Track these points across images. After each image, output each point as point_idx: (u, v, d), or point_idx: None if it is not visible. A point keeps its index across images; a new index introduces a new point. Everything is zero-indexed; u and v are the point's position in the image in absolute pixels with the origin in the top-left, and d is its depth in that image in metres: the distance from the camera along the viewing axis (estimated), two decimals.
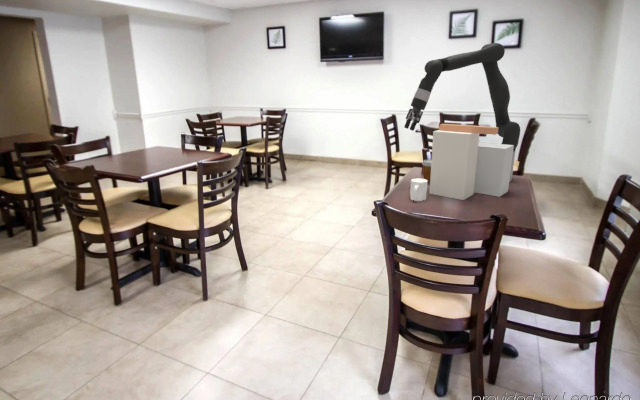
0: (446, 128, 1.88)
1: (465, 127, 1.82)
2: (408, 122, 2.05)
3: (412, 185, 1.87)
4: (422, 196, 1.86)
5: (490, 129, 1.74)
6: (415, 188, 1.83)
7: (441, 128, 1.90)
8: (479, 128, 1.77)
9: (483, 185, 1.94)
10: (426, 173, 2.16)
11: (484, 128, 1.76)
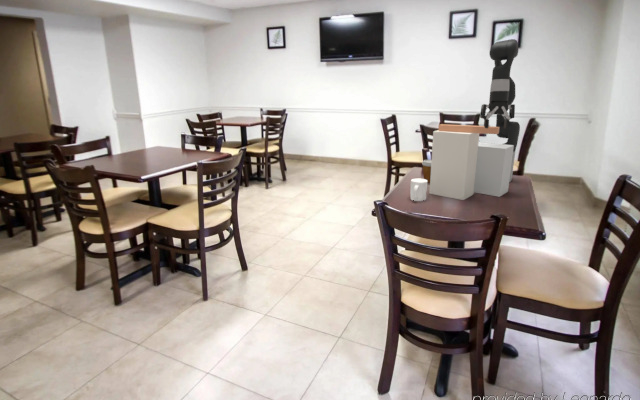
0: (445, 128, 1.87)
1: (466, 127, 1.81)
2: None
3: (412, 185, 1.87)
4: (422, 196, 1.86)
5: (492, 129, 1.75)
6: (415, 188, 1.83)
7: (440, 129, 1.88)
8: (480, 128, 1.77)
9: (483, 185, 1.94)
10: (426, 173, 2.16)
11: (486, 128, 1.76)
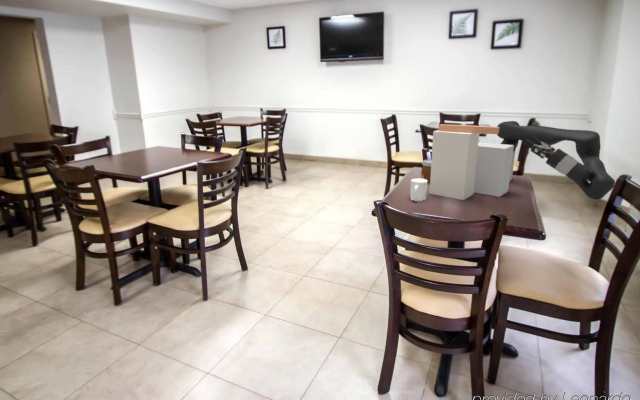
0: (445, 128, 1.87)
1: (466, 127, 1.81)
2: None
3: (412, 185, 1.87)
4: (422, 196, 1.86)
5: (492, 129, 1.75)
6: (415, 188, 1.83)
7: (440, 129, 1.88)
8: (480, 128, 1.77)
9: (483, 185, 1.94)
10: (426, 173, 2.16)
11: (486, 128, 1.76)
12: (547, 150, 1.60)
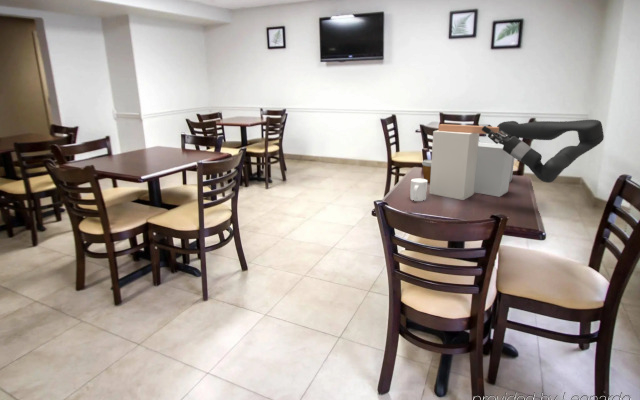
0: (445, 128, 1.87)
1: (465, 127, 1.81)
2: None
3: (412, 185, 1.87)
4: (422, 196, 1.86)
5: (491, 129, 1.74)
6: (415, 188, 1.83)
7: (440, 128, 1.88)
8: (480, 128, 1.77)
9: (483, 185, 1.94)
10: (426, 173, 2.16)
11: None
12: (503, 137, 1.71)
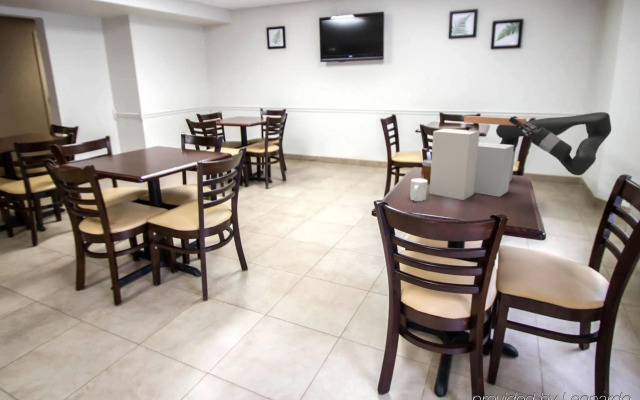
0: (470, 120, 1.84)
1: (491, 119, 1.78)
2: None
3: (412, 185, 1.87)
4: (422, 196, 1.86)
5: (518, 120, 1.70)
6: (415, 188, 1.83)
7: (465, 120, 1.86)
8: (506, 119, 1.73)
9: (483, 185, 1.94)
10: (426, 173, 2.16)
11: None
12: (531, 128, 1.67)
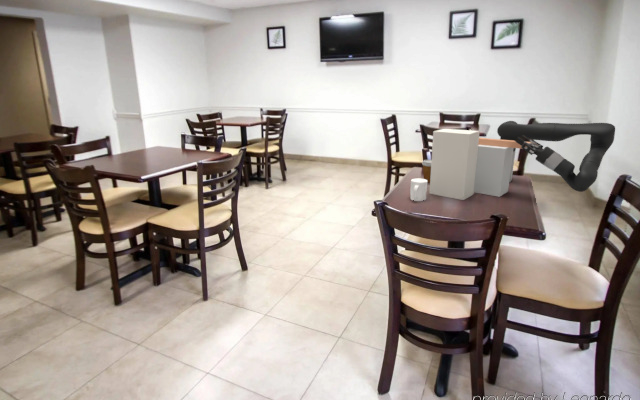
0: None
1: (498, 141, 1.88)
2: None
3: (412, 185, 1.87)
4: (422, 196, 1.86)
5: None
6: (415, 188, 1.83)
7: None
8: (512, 143, 1.84)
9: (483, 185, 1.94)
10: (426, 173, 2.16)
11: (517, 143, 1.82)
12: (536, 148, 1.77)
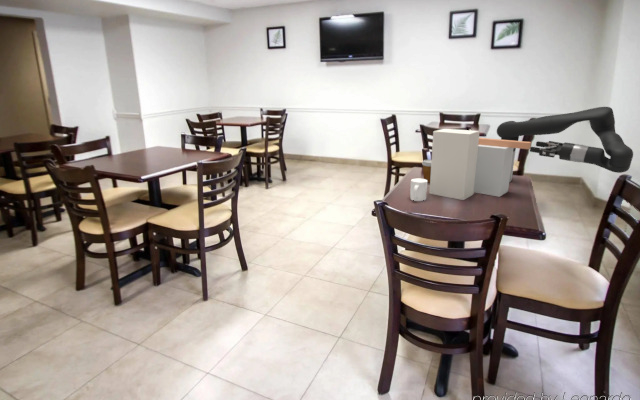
0: None
1: (498, 141, 1.88)
2: None
3: (412, 185, 1.87)
4: (422, 196, 1.86)
5: (523, 144, 1.81)
6: (415, 188, 1.83)
7: None
8: (512, 143, 1.84)
9: (483, 185, 1.94)
10: (426, 173, 2.16)
11: (517, 143, 1.82)
12: (554, 148, 1.68)
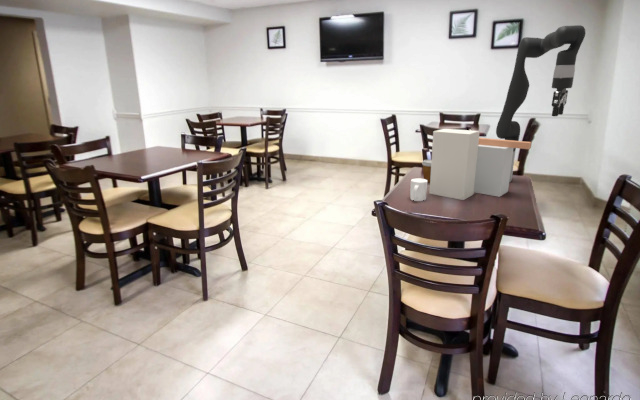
0: None
1: (498, 141, 1.88)
2: None
3: (412, 185, 1.87)
4: (422, 196, 1.86)
5: (523, 144, 1.81)
6: (415, 188, 1.83)
7: None
8: (512, 143, 1.84)
9: (483, 185, 1.94)
10: (426, 173, 2.16)
11: (517, 143, 1.82)
12: None
